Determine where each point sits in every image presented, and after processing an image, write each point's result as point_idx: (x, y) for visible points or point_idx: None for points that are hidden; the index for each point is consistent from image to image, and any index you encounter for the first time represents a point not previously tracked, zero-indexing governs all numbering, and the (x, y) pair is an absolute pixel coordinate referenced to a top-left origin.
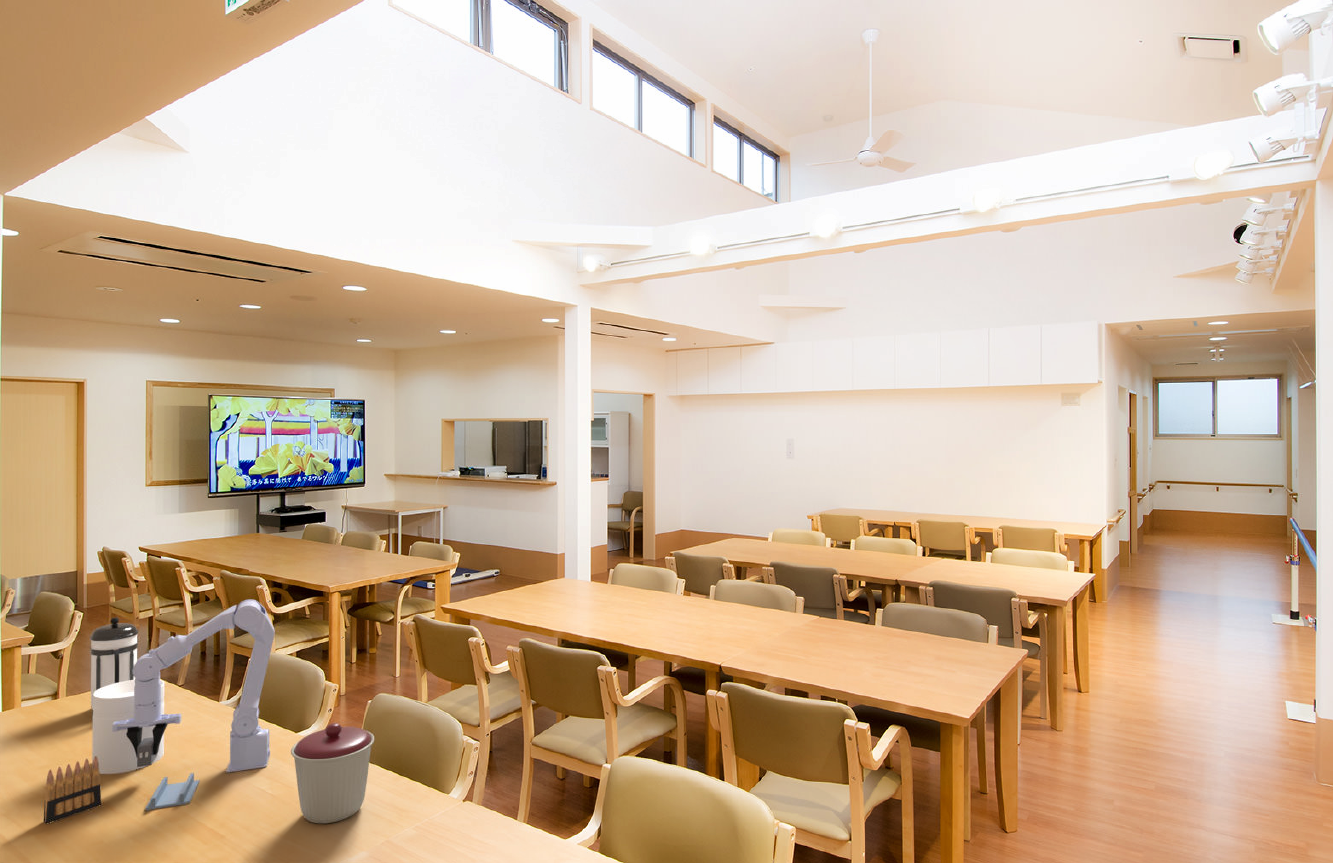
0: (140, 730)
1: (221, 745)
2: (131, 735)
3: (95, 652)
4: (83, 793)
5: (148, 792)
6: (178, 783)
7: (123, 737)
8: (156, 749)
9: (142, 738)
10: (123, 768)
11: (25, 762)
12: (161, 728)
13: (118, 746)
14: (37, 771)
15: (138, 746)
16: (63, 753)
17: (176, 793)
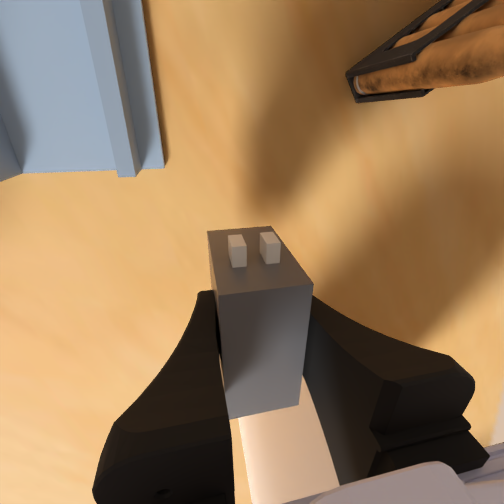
0: (350, 450)
1: (86, 443)
2: (420, 365)
3: None
4: (468, 4)
5: (193, 139)
6: (75, 165)
7: None
8: (196, 307)
9: (305, 437)
10: None
11: (484, 397)
12: (116, 473)
13: None
14: (474, 361)
15: (308, 297)
16: None
17: (12, 16)
